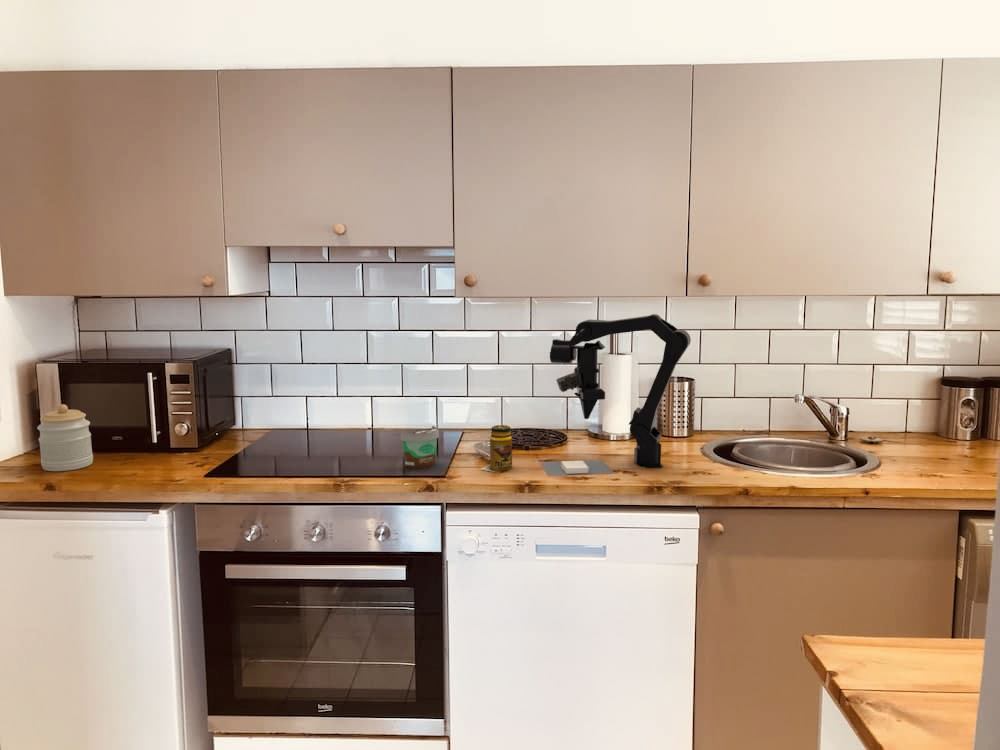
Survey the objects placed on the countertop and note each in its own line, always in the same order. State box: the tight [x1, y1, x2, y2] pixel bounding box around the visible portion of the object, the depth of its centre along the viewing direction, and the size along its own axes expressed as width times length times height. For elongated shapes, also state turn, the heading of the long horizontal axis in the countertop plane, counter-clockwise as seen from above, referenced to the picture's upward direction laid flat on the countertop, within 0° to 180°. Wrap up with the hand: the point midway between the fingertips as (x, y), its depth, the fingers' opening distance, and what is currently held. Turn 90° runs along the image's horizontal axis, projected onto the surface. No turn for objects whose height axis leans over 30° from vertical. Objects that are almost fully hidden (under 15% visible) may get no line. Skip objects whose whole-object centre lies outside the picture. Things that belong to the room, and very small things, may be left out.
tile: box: [560, 460, 588, 474], centre depth 215 cm, size 6×2×7 cm
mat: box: [539, 459, 615, 477], centre depth 218 cm, size 18×14×1 cm
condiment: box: [479, 424, 513, 474], centre depth 218 cm, size 7×8×12 cm
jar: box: [36, 403, 94, 472], centre depth 222 cm, size 13×13×18 cm
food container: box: [400, 425, 440, 469], centre depth 222 cm, size 12×6×10 cm, turn 137°
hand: (586, 418), depth 226 cm, fingers closed
